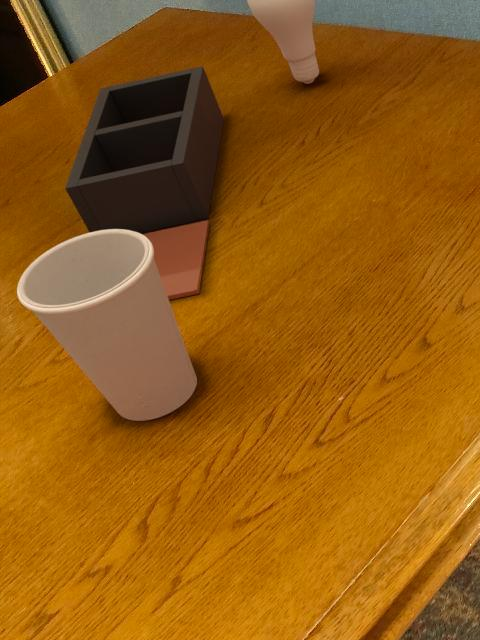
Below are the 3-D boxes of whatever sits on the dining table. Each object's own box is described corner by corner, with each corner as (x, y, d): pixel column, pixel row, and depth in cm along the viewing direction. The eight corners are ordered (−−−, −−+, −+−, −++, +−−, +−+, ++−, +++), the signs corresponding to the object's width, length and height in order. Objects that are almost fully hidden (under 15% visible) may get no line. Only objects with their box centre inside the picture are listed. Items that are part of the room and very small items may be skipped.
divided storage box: (95, 243, 82) (64, 188, 79) (125, 140, 95) (100, 88, 91) (208, 218, 82) (183, 162, 79) (224, 118, 94) (202, 65, 91)
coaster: (69, 321, 75) (67, 317, 75) (91, 249, 82) (88, 245, 82) (199, 293, 75) (197, 289, 75) (209, 224, 82) (208, 219, 81)
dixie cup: (109, 363, 71) (35, 240, 63) (224, 344, 70) (162, 217, 63) (83, 444, 65) (-2, 319, 58) (206, 423, 65) (137, 294, 57)
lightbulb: (285, 72, 99) (244, -48, 91) (344, 64, 98) (308, -59, 90) (273, 101, 95) (228, -22, 87) (334, 92, 94) (295, -33, 86)
